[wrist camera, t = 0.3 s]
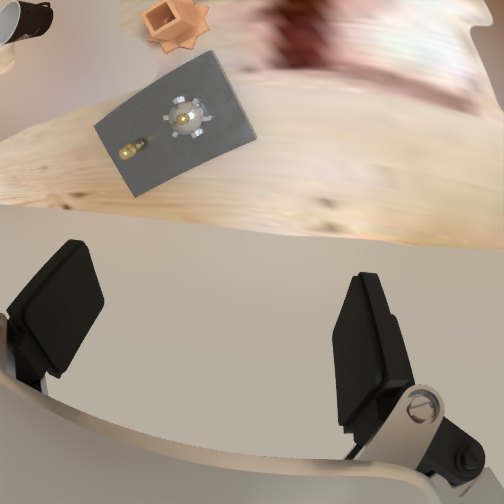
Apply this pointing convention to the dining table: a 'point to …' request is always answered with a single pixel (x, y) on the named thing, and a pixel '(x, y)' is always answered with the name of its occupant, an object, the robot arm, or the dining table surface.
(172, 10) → the hollow square star tube
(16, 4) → the coffee mug
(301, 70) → the dining table surface
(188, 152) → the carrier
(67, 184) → the dining table surface
